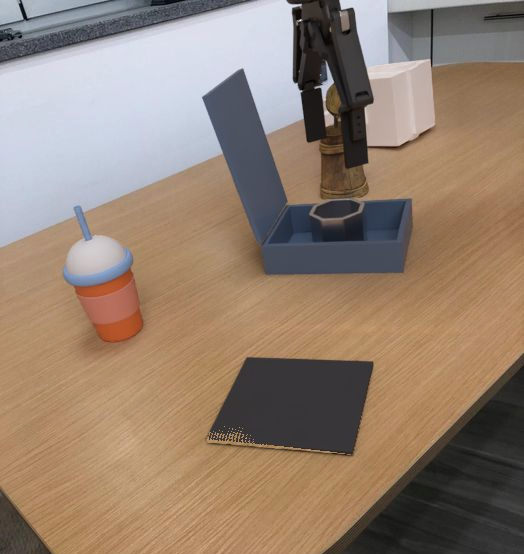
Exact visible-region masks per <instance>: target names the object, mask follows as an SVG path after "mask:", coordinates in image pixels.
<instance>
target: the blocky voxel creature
mask: <svg viewBox="0 0 524 554" xmlns="http://www.w3.org/2000/svg"><path fill="white" fill-rule="evenodd" d="M431 63H432V62H431V59H430V58H428V59H420V60H411V61H410V60H409V61H402V62H393V63H383V64H375V65H372V66H366V69H367V73H368V77H369V81H370V85H371V89H372V93H373V97H374V102H373V104H370V105H367V107H365V121H366V135H367V147H400V146H401V145H403V144H405V143H406V142H412V141H414V140H416V139H417V138H419V136H420V134H423V133H424V132H425V131H427V130H430V129H431V128H432V127H434V126H435V125H436V116H435V114H436V113H435V102H434V89H433V75H432V64H431ZM323 107H324V116H325V125H326V128H327V127H329V126H333V125H334V117H333V116H332V115H331V114H330V113H329V112H328V111H327V109H326V97H324V98H323Z"/></svg>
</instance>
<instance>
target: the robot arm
mask: <svg viewBox="0 0 524 554" xmlns="http://www.w3.org/2000/svg"><path fill="white" fill-rule="evenodd" d="M285 1H286V2H287V4H289V5H293V7H291V17H292V18H291V19H292V29H293V30H292V83H294V84H296V85H297V89H298V90H299V91H300V100H301V107H302V115H303V124H304V132H305V138H306V143H308V144H309V143H314V142H318V141H320V140H322V139H326V138H327V134H326V129H327V127H326V125H325V116H324V107H323V99H324V98H323V89H322V87H321V86H323V85H324V83H323V80H322V78H321V71H322V66H323V60H324V61H325V62H326V64H327V67H328V69H329V73H330V75H331V78H332V81H333V83H334V84H335V87H336V90H337V92H338V95H339V98H340V101H341V104H342V105H340V107H339V109H338V113H339V114H340V119H341V130H342V140H343V150H344V161H345V168H347V169H349V168H353V167H357V166H360V165H363V166H364V165H368V164H369V150H368V146H367V135H366V121H365V107H367V105H370V104H373V102H374V97H373V93H372V89H371V85H370V81H369V77H368V73H367V69H366V67H367V65H366V62H365V57H364V53H363V50H362V46H361V41H360V37H359V33H358V27H357V19H356V11H355V8H354V7H348V8H343V9H342V7H341V1H340V0H285ZM294 5H297V6H294Z"/></svg>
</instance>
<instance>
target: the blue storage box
mask: <svg viewBox="0 0 524 554" xmlns="http://www.w3.org/2000/svg"><path fill="white" fill-rule="evenodd" d="M360 201H361V202H364V203H365V212H366V225H367V238H368V241H342V242H313V241H312V233H311V226H310V219H309V213H310V211H311V210H312V208H313V206H314V205H317V204H319V203H320V202H315V203H314V202H313V203H295V204H286V205H285V207H284V208H283V210H282V212H281V213H280V215H279V217H278V218H277V220H276V221H275V223H274V225H273V226H272V228H271V229H270V231H269V233H268V234H267V236H266V237H265V239H264V241H263V242H262V243H261V244H260V251H261V257H262V262H263V267H264V272H265V276H269V275H270V276H273V275H277V276H279V275H280V276H281V275H344V274H345V275H346V274H349V275H350V274H351V275H352V274H403V273H404V270H405V265H406V261H407V257H408V251H409V247H410V241H411V237H412V232H413V226H414V225H413V224H414V221H413V198H411V197H407V198H393V199H392V198H390V199H389V198H388V199H372V200H371V199H370V200H360Z"/></svg>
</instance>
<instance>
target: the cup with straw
mask: <svg viewBox="0 0 524 554" xmlns="http://www.w3.org/2000/svg"><path fill="white" fill-rule="evenodd" d="M73 211H74V214H75V216H76V220H77V222H78V224H79V225H78V226H79V227H80V230H81V232H82V236H83V238H81V239H79V240H78V241H76V242H75V243H74V244H73V245H72V246H71V247H70V249H69V251H68V252H67V255H66V257H65V264H64V266H63V267H62V276H63V279H64V281H65V282H66V283H67V284H68V285H70V286H72V287H73V288H74V293H75V295H76V297H77V299H78V301H79V303H80V305H81V307H82V309H83V310H84V313H85V315H86V316H87V318H88V320H89V321H90V322H91V323H92V325H93V328H94V329H95V331H96V333H97V334H98V336H99V338H100V339H101V340H103V341H104V342H110V343H114V342H115V343H116V342H121V341H125V340H127V339H130V338H132V337H134V336H135V335H136V334H138V333H139V332H140V331H141V329H142V328H143V325H144V321H143V317H142V313H141V307H140V306H141V301H140V297H139V293H138V292H139V291H138V287H137V283H136V279H135V274H134V272H133V271H132V266H133V264H134V256H133V254H132V252H131V250H130V249H128V248H127V247H125V246H123V245H122V244H121V243H120V242H119V241H118V240H116V239H114V238H112V237H110V236H108V235H101V234H95V235H92V234H91V231H90V228H89V225H88V222H87V220H86V217H85V214H84V212H83V209H82V206H81V205H75V206H73Z"/></svg>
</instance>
